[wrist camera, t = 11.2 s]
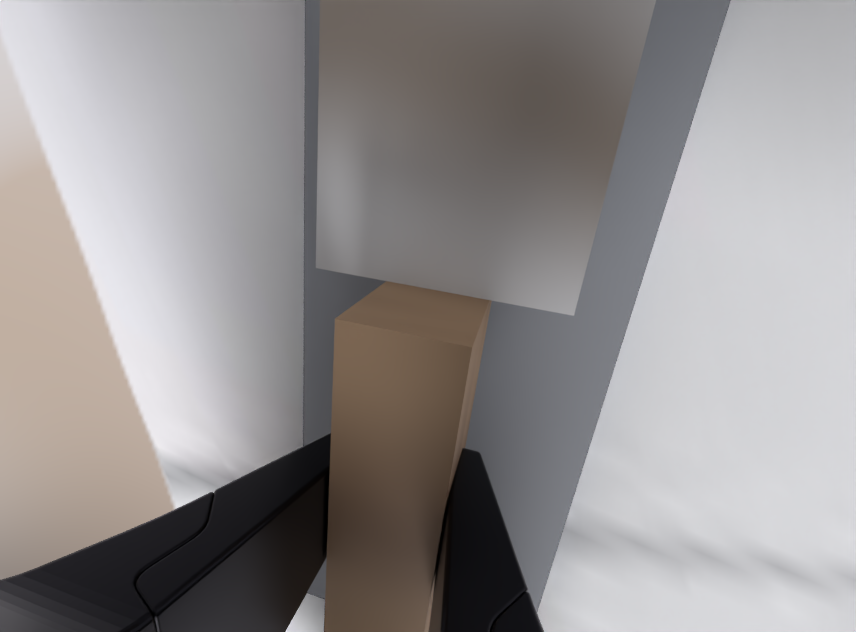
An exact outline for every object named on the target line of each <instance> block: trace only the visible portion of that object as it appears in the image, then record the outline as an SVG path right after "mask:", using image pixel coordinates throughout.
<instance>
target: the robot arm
mask: <svg viewBox="0 0 856 632" xmlns="http://www.w3.org/2000/svg"><path fill="white" fill-rule="evenodd" d="M330 447H331V433H330V434H328V435H325V436H323V437H321V438H319V439H317V440H315V441H313V442H311V443H309V444H307V445H305V446H303V447H301V448H299V449H297V450H295V451H293V452H291V453H289V454H287V455H285V456H283V457H281V458H279V459H277V460H275V461H273V462H271V463H269V464H267V465H265V466H263V467H261V468H259V469H257V470H255V471H253V472H251V473H249V474H247V475H245V476H243V477H241V478H239V479H237V480H235V481H233V482H231V483H229V484H227V485H225V486H223V487H221V488H218V489H216V490H215V492H214V493H213V492H210V493H208V494H206V495H204V496H202V497H200V498H198V499H196V500H194V501H192V502H190V503H188V504H186V505H183V506H181V507H179V508H177V509H175V510H173V511H171V512H169V513H167V514H164V515H162V516H160V517H158V518H155V519H153V520H151V521H148V522H146V523H144V524H141V525H139V526H137V527H135V528H132V529H130V530H127V531H125V532H123V533H120V534H118V535H115V536H113V537H111V538H108V539H106V540H103V541H101V542H98V543H96V544H93V545H91V546H89V547H86V548H84V549H81V550H79V551H76V552H74V553H71V554H69V555H67V556H64V557H62V558H59V559H57V560H55V561H52V562H50V563H47V564H45V565H42V566H40V567H38V568H35V569H32V570H30V571H27V572H24V573H22V574H19V575H15V576H12V577H9V578H6V579H2V580H0V632H285V631H286V629H287V627H288V626H289V624H290V622H291V620H292V619H293V617H294V615H295V613H296V611H297V610H298V608H299V606H300V604H301V602H302V601H303V599H304V597H305V595H306V593H307V592H308V590H309V588H310V586H311V585H312V583H313V581H314V579H315V577H316V576H317V574H318V572H319V570H320V568H321V567H322V565H323V563H324V561H325V560H326V558H327V533H328V504H329V475H330ZM429 632H544V630H543V628H542V625H541V623H540V620H539V617H538V615H537V612H536V609H535V606H534V603H533V600H532V598H531V595H530V593H529V592H528V587H527V584H526V581H525V578H524V575H523V573H522V570H521V567H520V564H519V561H518V558H517V555H516V553H515V550H514V547H513V544H512V541H511V538H510V536H509V533H508V530H507V527H506V524H505V521H504V518H503V516H502V513H501V510H500V507H499V504H498V501H497V498H496V496H495V493H494V490H493V487H492V484H491V481H490V479H489V476H488V473H487V470H486V467H485V464H484V461H483V459H482V456H481V454H480V452H478V451H475V450H471V449H467V448H462V452H461V455H460V458H459V462H458V465H457V468H456V472H455V475H454V479H453V482H452V485H451V489H450V493H449V497H448V503H447V509H446V515H445V521H444V527H443V532H442V538H441V544H440V550H439V556H438V562H437V568H436V574H435V582H434V591H433V600H432V608H431V617H430V626H429Z"/></svg>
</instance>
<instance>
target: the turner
mask: <svg viewBox="0 0 856 632" xmlns="http://www.w3.org/2000/svg"><path fill="white" fill-rule="evenodd" d="M655 3H656V0H320V34H319V96H318V159H317V222H316V268H319V269H324V270H329V271H335V272H340V273H346V274H351V275H356V276H362V277H367V278H373V279H378V280H383V281H386V282H385V283H383V284H382V285H381V286H379V287H378V288H376V289H375V290H374V291H372V292H371V293H370V294H368V295H367V296H365V297H364V298H363V299H361V300H360V301H359V302H357V303H356V304H354V305H353V306H352V307H350V308H349V309H348V310H346V311H345V312H343V313H342V314H341V315H339V316H338V317H336V318H335V332H334V361H333V390H332V418H331V447H330V475H329V504H328V533H327V561H326V590H325V618H324V632H429V626H430V617H431V608H432V600H433V591H434V582H435V574H436V568H437V562H438V556H439V550H440V544H441V538H442V532H443V527H444V521H445V515H446V509H447V503H448V497H449V493H450V489H451V485H452V482H453V479H454V475H455V472H456V468H457V465H458V462H459V458H460V455H461V452H462V448H465V446H466V440H467V435H468V429H469V424H470V418H471V412H472V407H473V401H474V396H475V390H476V385H477V379H478V374H479V368H480V363H481V357H482V351H483V346H484V340H485V335H486V329H487V324H488V318H489V313H490V307H491V302H492V301H497V302H502V303H507V304H513V305H518V306H524V307H529V308H534V309H540V310H545V311H551V312H556V313H561V314H567V315H572V316H574V314H575V310H576V306H577V302H578V298H579V294H580V291H581V287H582V283H583V279H584V275H585V271H586V268H587V264H588V260H589V256H590V252H591V248H592V244H593V241H594V237H595V233H596V229H597V225H598V221H599V218H600V214H601V210H602V206H603V202H604V198H605V195H606V191H607V187H608V183H609V179H610V175H611V172H612V168H613V164H614V160H615V156H616V152H617V149H618V145H619V141H620V137H621V133H622V129H623V126H624V122H625V118H626V114H627V110H628V106H629V102H630V99H631V95H632V91H633V87H634V83H635V79H636V76H637V72H638V68H639V64H640V60H641V56H642V53H643V49H644V45H645V41H646V37H647V33H648V30H649V26H650V22H651V18H652V14H653V10H654V7H655Z"/></svg>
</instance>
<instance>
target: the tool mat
mask: <svg viewBox="0 0 856 632" xmlns="http://www.w3.org/2000/svg"><path fill="white" fill-rule="evenodd" d="M729 4H730V0H656V3H655V7H654V10H653V14H652V18H651V22H650V26H649V30H648V33H647V37H646V41H645V45H644V49H643V53H642V56H641V60H640V64H639V68H638V72H637V76H636V79H635V83H634V87H633V91H632V95H631V99H630V102H629V106H628V110H627V114H626V118H625V122H624V126H623V129H622V133H621V137H620V141H619V145H618V149H617V152H616V156H615V160H614V164H613V168H612V172H611V175H610V179H609V183H608V187H607V191H606V195H605V198H604V202H603V206H602V210H601V214H600V218H599V221H598V225H597V229H596V233H595V237H594V241H593V244H592V248H591V252H590V256H589V260H588V264H587V268H586V271H585V275H584V279H583V283H582V287H581V291H580V294H579V298H578V302H577V306H576V310H575V314H574V316H572V315H567V314H561V313H556V312H551V311H545V310H540V309H534V308H529V307H524V306H518V305H513V304H507V303H502V302H497V301H492V302H491V307H490V313H489V318H488V324H487V329H486V335H485V340H484V346H483V351H482V357H481V363H480V368H479V374H478V379H477V385H476V390H475V396H474V401H473V407H472V412H471V418H470V424H469V429H468V435H467V440H466V446H465V448H467V449H471V450H475V451H478V452H480V454H481V456H482V459H483V461H484V464H485V467H486V470H487V473H488V476H489V479H490V481H491V484H492V487H493V490H494V493H495V496H496V498H497V501H498V504H499V507H500V510H501V513H502V516H503V518H504V521H505V524H506V527H507V530H508V533H509V536H510V538H511V541H512V544H513V547H514V550H515V553H516V555H517V558H518V561H519V564H520V567H521V570H522V573H523V575H524V578H525V581H526V584H527V587H528V592H529V593H530V595H531V598H532V600H533V603H534V606H535V609H536V612H537V611H538V608H539V604H540V601H541V598H542V595H543V592H544V589H545V585H546V582H547V579H548V576H549V573H550V570H551V566H552V563H553V560H554V557H555V554H556V551H557V547H558V544H559V541H560V538H561V535H562V532H563V528H564V525H565V522H566V519H567V516H568V513H569V510H570V506H571V503H572V500H573V497H574V494H575V491H576V487H577V484H578V481H579V478H580V475H581V472H582V468H583V465H584V462H585V459H586V456H587V453H588V449H589V446H590V443H591V440H592V437H593V434H594V430H595V427H596V424H597V421H598V418H599V415H600V412H601V408H602V405H603V402H604V399H605V396H606V393H607V389H608V386H609V383H610V380H611V377H612V374H613V370H614V367H615V364H616V361H617V358H618V355H619V351H620V348H621V345H622V342H623V339H624V336H625V332H626V329H627V326H628V323H629V320H630V317H631V313H632V310H633V307H634V304H635V301H636V298H637V295H638V291H639V288H640V285H641V282H642V279H643V276H644V272H645V269H646V266H647V263H648V260H649V257H650V253H651V250H652V247H653V244H654V241H655V238H656V234H657V231H658V228H659V225H660V222H661V219H662V215H663V212H664V209H665V206H666V203H667V200H668V197H669V193H670V190H671V187H672V184H673V181H674V178H675V174H676V171H677V168H678V165H679V162H680V159H681V155H682V152H683V149H684V146H685V143H686V140H687V136H688V133H689V130H690V127H691V124H692V121H693V117H694V114H695V111H696V108H697V105H698V102H699V98H700V95H701V92H702V89H703V86H704V83H705V80H706V76H707V73H708V70H709V67H710V64H711V61H712V57H713V54H714V51H715V48H716V45H717V42H718V38H719V35H720V32H721V29H722V26H723V23H724V19H725V16H726V13H727V10H728V7H729ZM319 34H320V0H305V157H304V391H303V446H305V445H307V444H309V443H311V442H313V441H315V440H317V439H319V438H321V437H323V436H325V435H328V434H330V433H331V418H332V390H333V361H334V332H335V318H336V317H338V316H339V315H341V314H342V313H343V312H345V311H346V310H348V309H349V308H350V307H352V306H353V305H354V304H356V303H357V302H359V301H360V300H361V299H363V298H364V297H365V296H367V295H368V294H370V293H371V292H372V291H374V290H375V289H376V288H378V287H379V286H381V285H382V284H383V283H385V282H386V281H383V280H378V279H373V278H367V277H362V276H356V275H351V274H346V273H340V272H335V271H329V270H324V269H319V268H316V222H317V159H318V96H319ZM326 561H327V558H326V560H325V561H324V563H323V565H322V567H321V568H320V570H319V572H318V574H317V576H316V577H315V579H314V581H313V583H312V585H311V586H310V588H309V590H308V592H307V593H309V594H311V595H314V596H317V597H320V598H323V599H325V590H326Z"/></svg>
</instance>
